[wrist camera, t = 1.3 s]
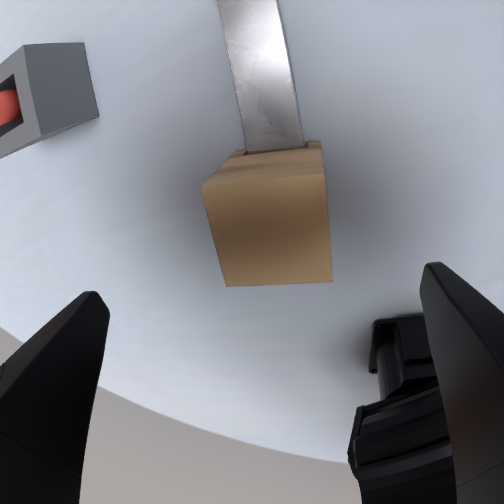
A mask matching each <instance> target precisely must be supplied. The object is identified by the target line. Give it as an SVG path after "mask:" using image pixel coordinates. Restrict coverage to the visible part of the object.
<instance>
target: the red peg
mask: <svg viewBox="0 0 504 504" xmlns="http://www.w3.org/2000/svg"><path fill="white" fill-rule="evenodd" d="M21 118H23V116H22V112H21V108H20V103H19V98H18V93H17V88H14V89H9V90H5V91H1V92H0V126H1V125H3V124H6V123H9V122H12V121H15V120H18V119H21Z"/></svg>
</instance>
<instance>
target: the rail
mask: <svg viewBox="0 0 504 504" xmlns="http://www.w3.org/2000/svg"><path fill="white" fill-rule="evenodd" d="M217 1H218V6H219V11H220V15H221V20H222V25H223V30H224V35H225V39H226V44H227V49H228V54H229V59H230V64H231V69H232V74H233V79H234V84H235V89H236V94H237V99H238V104H239V109H240V114H241V119H242V124H243V129H244V135H245V140H246V145H247V150H248V155H251V154H259V153H267V152H275V151H284V150H293V149H303V148H304V141H303V134H302V128H301V121H300V115H299V108H298V102H297V96H296V90H295V84H294V78H293V73H292V67H291V62H290V57H289V51H288V46H287V41H286V36H285V31H284V26H283V22H282V17H281V12H280V8H279V3H278V0H217Z"/></svg>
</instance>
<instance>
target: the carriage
mask: <svg viewBox="0 0 504 504" xmlns="http://www.w3.org/2000/svg"><path fill="white" fill-rule="evenodd" d="M200 189H201V193H202V197H203V201H204V205H205V209H206V213H207V217H208V220H209V224H210V228H211V232H212V236H213V240H214V244H215V247H216V251H217V255H218V259H219V262H220V266H221V270H222V273H223V277H224V281H225V284H226V287H231V286H258V285H281V284H302V283H321V282H332V263H331V246H330V232H329V219H328V207H327V196H326V186H325V176H324V167H323V159H322V151H321V143H320V141H314V142H308V148H303V149H293V150H284V151H275V152H267V153H259V154H251V155H248V150H247V149H246V150H239V151H236V152H235V153H234V154H233V155H232V156H231V157H230V158H229V159H228V160H227V161H226V162H225V163H224V164H223V165H222V166H221V167H220V168H219V169H218V170H217V171H216V172H215V173H214V174H213V175H212V176H211V177H210V178H209V179H208V180H207V181H206V182H205V183H204V184H203V185H202V186H201V187H200Z"/></svg>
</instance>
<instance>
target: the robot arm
mask: <svg viewBox="0 0 504 504" xmlns="http://www.w3.org/2000/svg"><path fill="white" fill-rule="evenodd" d="M420 298H421V302H422V307H423V312H424V316H422V317H412V318H401V319H389V320H379V321H376V322H375V323H374V324H373V332H372V342H371V351H370V359H369V367H368V368H369V372H370V373H372V374H374V373H378V379H379V389H380V400H381V401H378V402H375V403H372V404H369V405H366V406H364V405H363V406H360V407H357V410H356V415H355V419H354V424H353V429H352V434H351V438H350V443H349V447H348V452H347V454H348V463H349V464H350V466H351V470H352V472H353V474H354V476H355V478H356V479H357V480H358V482H359V487H360V491H361V497H362V504H504V313H503V312H501V311H500V310H499V309H498V308H497V307H496V306H495V305H493V304H492V303H491V302H490V301H489V300H488V299H486V298H485V297H484V296H483V295H482V294H481V293H479V292H478V291H477V290H476V289H475V288H473V287H472V286H471V285H470V284H468V283H467V282H466V281H465V280H464V279H462V278H461V277H460V276H459V275H457V274H456V273H455V272H453V271H452V270H451V269H450V268H448V267H447V266H446V265H445V264H443V263H442V262H431V263H427V264H426V265H425V267H424V271H423V275H422V280H421V284H420ZM109 319H110V312H109V309H108V307H107V306H106V304H105V303H104V301H103V300H102V298H101V297H100V295H99V294H98V293H97V292H96V291H85V292H83V293H82V294H80V295H79V296H78V297H77V298H76V299H74V300H73V301H72V302H71V303H70V304H69V305H67V306H66V307H65V308H64V309H63V310H62V311H60V312H59V313H58V314H57V315H56V316H55V317H53V318H52V319H51V320H50V321H49V322H48V323H47V324H45V325H44V326H43V327H42V328H41V329H40V330H39V331H38V332H36V333H35V334H34V335H33V336H32V337H31V338H30V339H29V340H28V341H27V342H25V343H24V344H23V345H22V346H21V347H20V348H19V349H18V350H17V351H16V352H15V353H14V354H13V355H12V356H11V357H9V358H8V359H7V360H6V362H5V363H3V364H2V365H1V366H0V504H79V499H80V489H81V479H82V478H81V477H82V470H83V462H84V455H85V448H86V442H87V436H88V430H89V424H90V419H91V413H92V408H93V403H94V398H95V394H96V389H97V384H98V380H99V375H100V371H101V367H102V362H103V356H104V350H105V343H106V337H107V331H108V325H109ZM378 326H381V327H378Z"/></svg>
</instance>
